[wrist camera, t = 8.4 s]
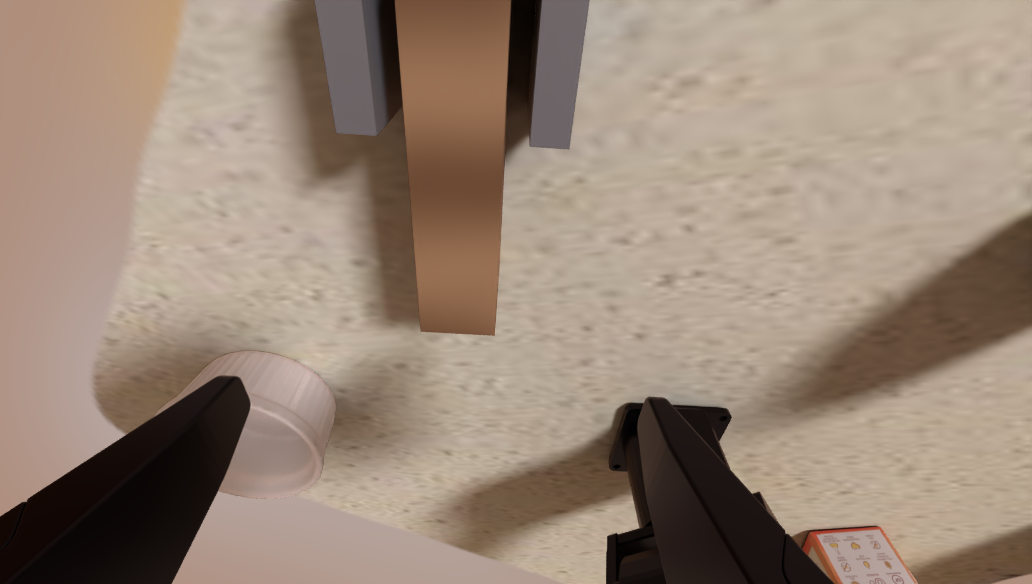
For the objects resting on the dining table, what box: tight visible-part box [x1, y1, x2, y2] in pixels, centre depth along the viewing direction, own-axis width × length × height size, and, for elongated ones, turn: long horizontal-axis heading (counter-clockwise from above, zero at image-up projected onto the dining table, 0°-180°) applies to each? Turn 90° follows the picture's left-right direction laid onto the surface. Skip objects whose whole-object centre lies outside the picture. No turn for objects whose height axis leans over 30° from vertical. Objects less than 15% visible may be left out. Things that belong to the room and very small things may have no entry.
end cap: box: [315, 0, 589, 149], centre depth 14 cm, size 6×7×5 cm
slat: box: [395, 0, 513, 336], centre depth 17 cm, size 12×3×5 cm, turn 176°
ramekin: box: [154, 351, 336, 499], centre depth 26 cm, size 9×9×4 cm
